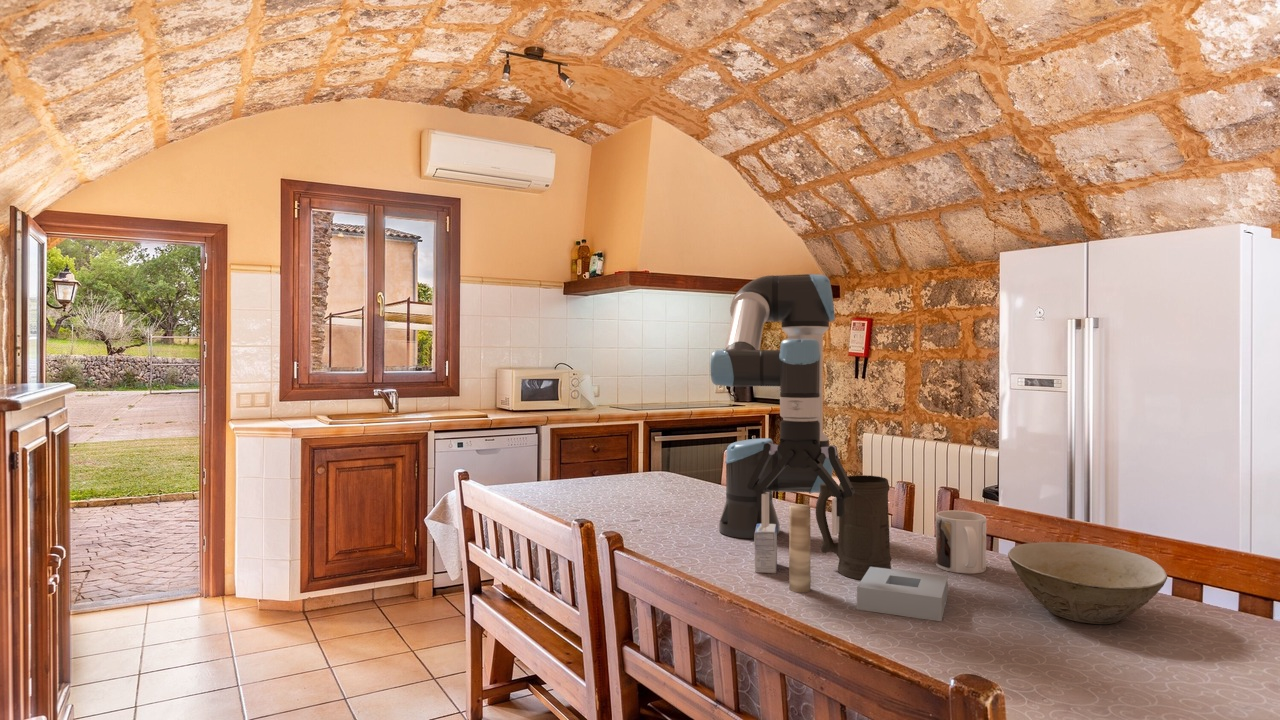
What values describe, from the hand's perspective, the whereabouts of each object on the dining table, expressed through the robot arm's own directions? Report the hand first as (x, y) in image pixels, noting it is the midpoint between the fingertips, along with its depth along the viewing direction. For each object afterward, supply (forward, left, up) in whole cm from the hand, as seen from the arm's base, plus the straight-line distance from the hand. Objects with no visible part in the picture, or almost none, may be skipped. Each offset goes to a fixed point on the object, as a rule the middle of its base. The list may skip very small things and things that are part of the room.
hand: (799, 530), depth 147 cm
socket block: (0, +19, -12) cm, 22 cm away
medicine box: (-11, -10, -12) cm, 19 cm away
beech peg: (0, 0, -12) cm, 12 cm away
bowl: (-7, +48, -12) cm, 50 cm away
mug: (-28, +27, -12) cm, 41 cm away
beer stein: (-16, +7, -12) cm, 21 cm away
